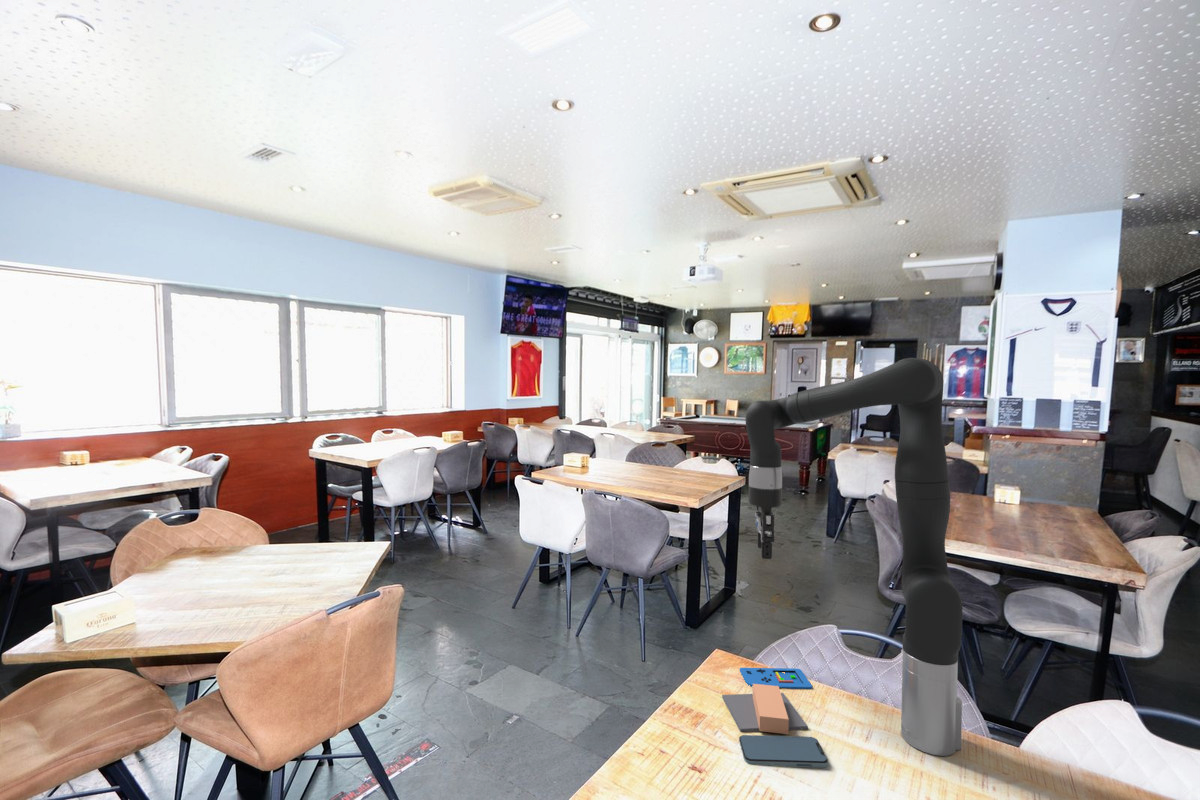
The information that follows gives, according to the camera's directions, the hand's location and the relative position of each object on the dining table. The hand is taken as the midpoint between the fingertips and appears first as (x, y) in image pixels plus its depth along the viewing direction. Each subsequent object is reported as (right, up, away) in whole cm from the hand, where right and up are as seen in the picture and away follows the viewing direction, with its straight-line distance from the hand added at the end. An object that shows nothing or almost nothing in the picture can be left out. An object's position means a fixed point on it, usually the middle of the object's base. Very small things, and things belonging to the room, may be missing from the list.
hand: (764, 553), depth 126 cm
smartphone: (-4, -31, -25) cm, 40 cm away
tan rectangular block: (-2, -28, -9) cm, 30 cm away
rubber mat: (-4, -30, -13) cm, 33 cm away
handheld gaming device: (+3, -31, +1) cm, 31 cm away
